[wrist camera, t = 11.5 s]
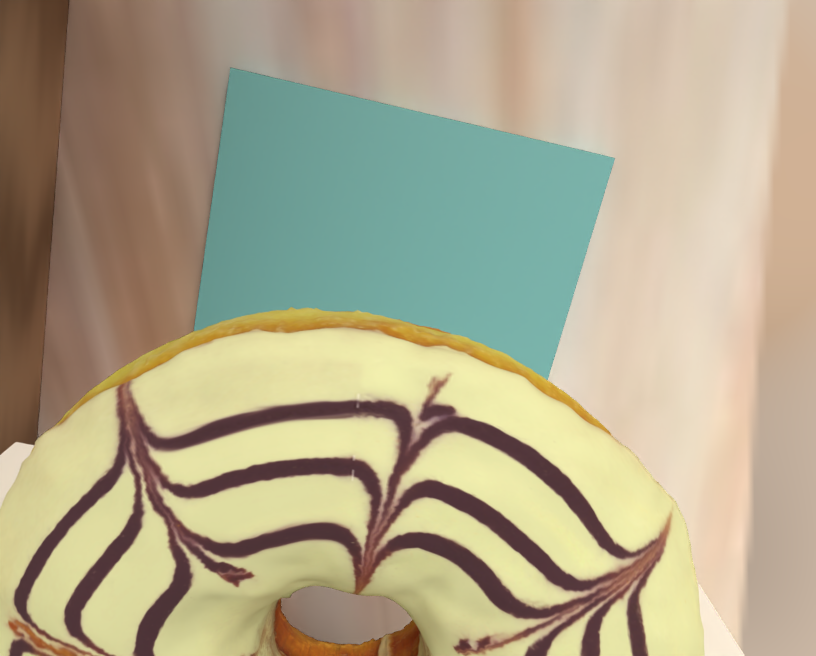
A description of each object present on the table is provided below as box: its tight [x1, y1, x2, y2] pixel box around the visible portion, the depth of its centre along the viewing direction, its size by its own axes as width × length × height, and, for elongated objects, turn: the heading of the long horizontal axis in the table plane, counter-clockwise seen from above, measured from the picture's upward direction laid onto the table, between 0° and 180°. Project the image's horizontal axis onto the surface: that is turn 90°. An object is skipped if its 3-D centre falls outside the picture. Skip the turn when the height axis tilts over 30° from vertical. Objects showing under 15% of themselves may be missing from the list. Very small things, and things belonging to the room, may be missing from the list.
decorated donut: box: [0, 307, 705, 656], centre depth 11 cm, size 10×11×4 cm
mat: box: [194, 67, 615, 380], centre depth 25 cm, size 16×13×1 cm
